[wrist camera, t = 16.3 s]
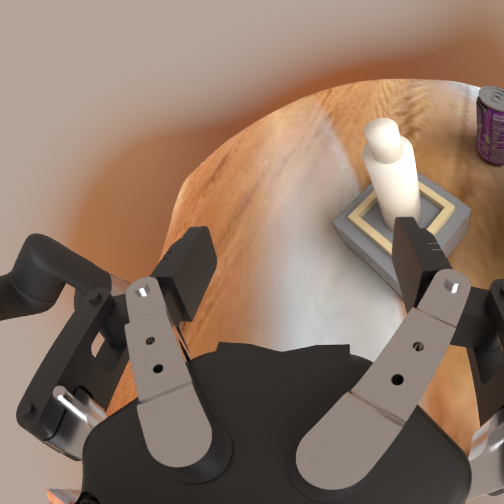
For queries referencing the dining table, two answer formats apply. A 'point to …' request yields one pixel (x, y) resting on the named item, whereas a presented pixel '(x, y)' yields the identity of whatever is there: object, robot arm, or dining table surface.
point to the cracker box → (63, 496)
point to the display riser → (381, 237)
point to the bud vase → (392, 171)
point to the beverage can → (490, 124)
